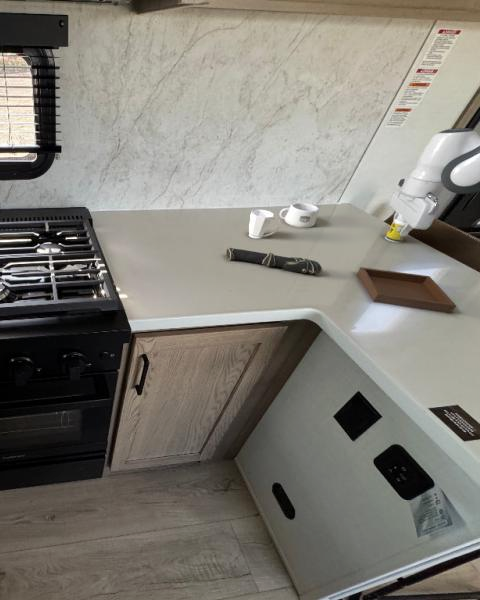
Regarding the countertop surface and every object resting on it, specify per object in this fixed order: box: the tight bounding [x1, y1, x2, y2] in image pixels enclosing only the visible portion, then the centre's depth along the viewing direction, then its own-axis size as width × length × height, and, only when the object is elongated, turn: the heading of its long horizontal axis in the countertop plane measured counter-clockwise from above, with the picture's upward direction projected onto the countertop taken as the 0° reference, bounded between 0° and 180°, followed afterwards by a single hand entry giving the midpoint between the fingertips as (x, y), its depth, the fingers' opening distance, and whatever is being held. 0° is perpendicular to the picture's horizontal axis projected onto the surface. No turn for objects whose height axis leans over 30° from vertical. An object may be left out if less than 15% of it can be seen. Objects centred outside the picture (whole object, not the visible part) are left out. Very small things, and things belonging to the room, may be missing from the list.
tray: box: [356, 266, 457, 314], centre depth 88 cm, size 16×14×2 cm
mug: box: [278, 202, 320, 228], centre depth 123 cm, size 12×10×6 cm
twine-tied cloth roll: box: [225, 247, 323, 275], centre depth 99 cm, size 4×5×25 cm
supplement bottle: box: [384, 214, 407, 243], centre depth 110 cm, size 5×5×8 cm
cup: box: [248, 209, 282, 240], centre depth 113 cm, size 7×10×8 cm
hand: (398, 230), depth 111 cm, fingers closed on supplement bottle, 5 cm apart
